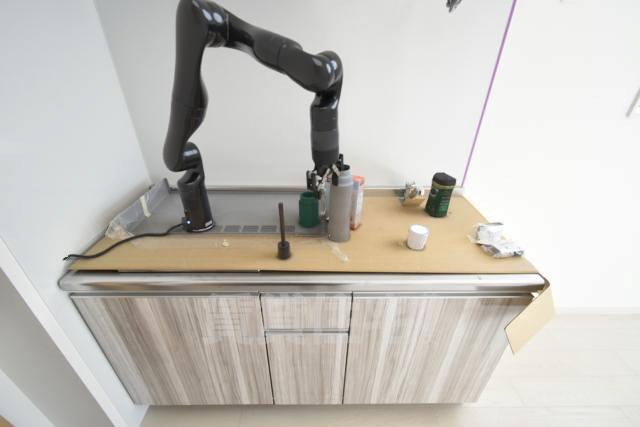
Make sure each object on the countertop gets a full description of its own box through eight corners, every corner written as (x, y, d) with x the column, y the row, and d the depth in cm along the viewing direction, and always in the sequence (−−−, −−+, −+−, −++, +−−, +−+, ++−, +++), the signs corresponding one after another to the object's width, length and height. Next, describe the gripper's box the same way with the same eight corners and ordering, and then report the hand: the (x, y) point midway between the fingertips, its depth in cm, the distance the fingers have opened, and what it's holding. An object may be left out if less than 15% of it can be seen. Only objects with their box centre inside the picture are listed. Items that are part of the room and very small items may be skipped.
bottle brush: (280, 261, 79) (276, 207, 70) (276, 254, 83) (272, 202, 73) (292, 257, 81) (289, 204, 72) (287, 251, 84) (284, 199, 75)
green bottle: (304, 229, 97) (303, 200, 90) (296, 220, 103) (295, 192, 96) (321, 225, 100) (322, 196, 94) (313, 216, 106) (313, 189, 100)
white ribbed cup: (424, 242, 90) (429, 226, 87) (425, 252, 85) (430, 236, 81) (405, 238, 92) (409, 222, 89) (405, 248, 86) (408, 232, 83)
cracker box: (360, 223, 101) (365, 176, 91) (354, 230, 97) (359, 181, 87) (331, 214, 108) (333, 169, 98) (324, 220, 103) (326, 174, 93)
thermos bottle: (349, 231, 96) (355, 163, 82) (347, 243, 89) (354, 170, 75) (330, 229, 97) (332, 161, 84) (326, 240, 90) (329, 168, 77)
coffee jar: (449, 217, 107) (461, 178, 98) (432, 218, 106) (444, 178, 97) (437, 207, 116) (447, 170, 107) (421, 208, 114) (430, 171, 106)
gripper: (330, 129, 69) (331, 177, 80) (295, 149, 61) (302, 198, 72) (352, 136, 65) (349, 185, 76) (318, 157, 58) (321, 208, 68)
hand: (326, 191), depth 74 cm, fingers open, 8 cm apart
